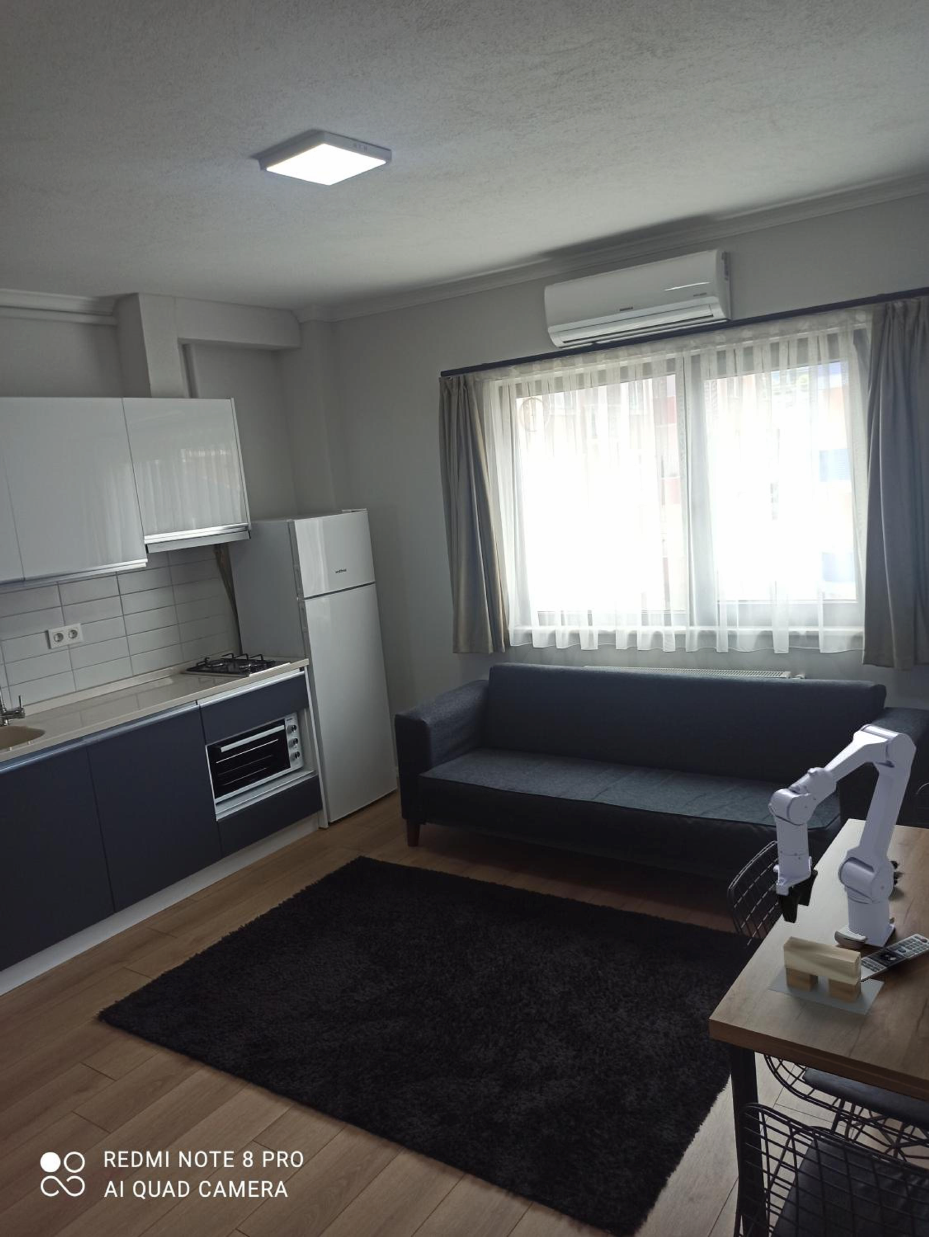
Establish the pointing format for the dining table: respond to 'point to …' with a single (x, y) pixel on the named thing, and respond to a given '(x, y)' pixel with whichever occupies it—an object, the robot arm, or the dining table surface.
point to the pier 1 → (800, 979)
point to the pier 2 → (844, 990)
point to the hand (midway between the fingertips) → (796, 913)
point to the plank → (822, 960)
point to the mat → (822, 993)
